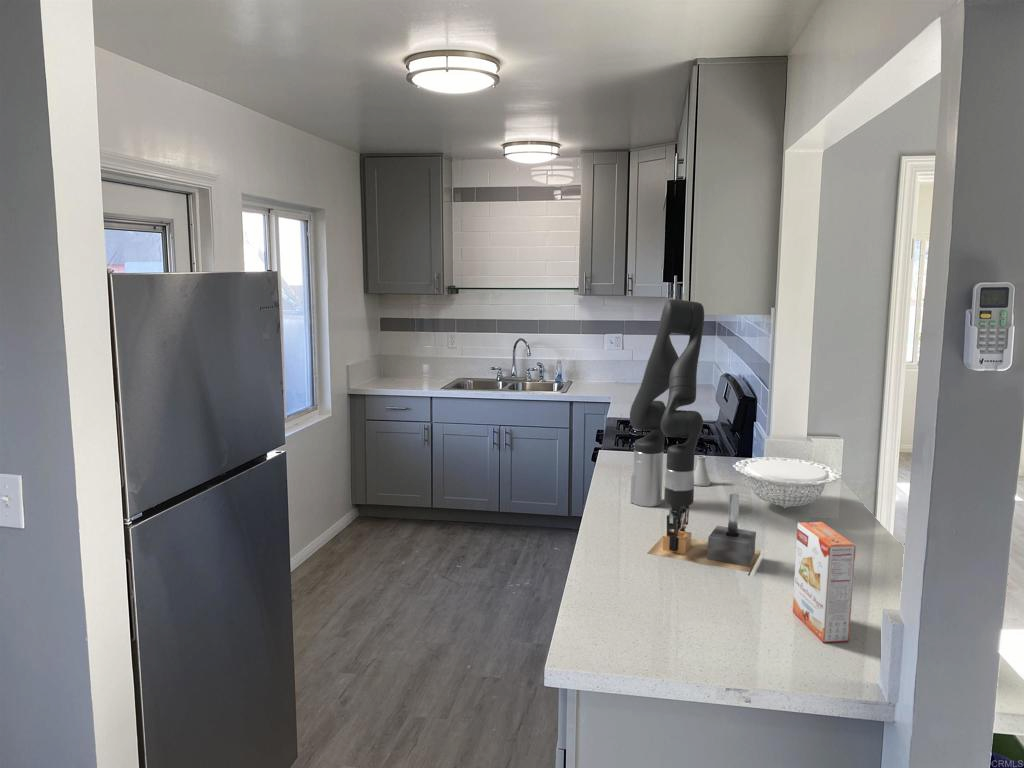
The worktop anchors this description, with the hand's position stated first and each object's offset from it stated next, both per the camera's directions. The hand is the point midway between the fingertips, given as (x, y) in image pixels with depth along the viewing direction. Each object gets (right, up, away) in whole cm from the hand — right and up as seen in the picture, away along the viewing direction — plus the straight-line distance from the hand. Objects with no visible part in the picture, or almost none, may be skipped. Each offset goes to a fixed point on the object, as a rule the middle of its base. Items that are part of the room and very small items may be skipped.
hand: (676, 546), depth 202 cm
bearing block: (+7, -2, -2) cm, 7 cm away
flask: (+22, +8, +65) cm, 69 cm away
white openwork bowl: (+42, +4, +38) cm, 57 cm away
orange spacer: (0, -1, 0) cm, 1 cm away
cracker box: (+21, -8, -41) cm, 47 cm away
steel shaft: (+13, +4, -6) cm, 15 cm away
